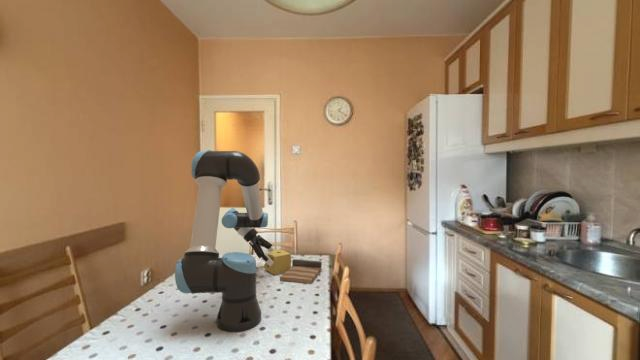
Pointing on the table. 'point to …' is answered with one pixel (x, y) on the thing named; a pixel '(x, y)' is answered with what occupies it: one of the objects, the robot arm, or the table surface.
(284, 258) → the cheese
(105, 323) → the table surface
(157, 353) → the table surface
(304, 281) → the walnut board
